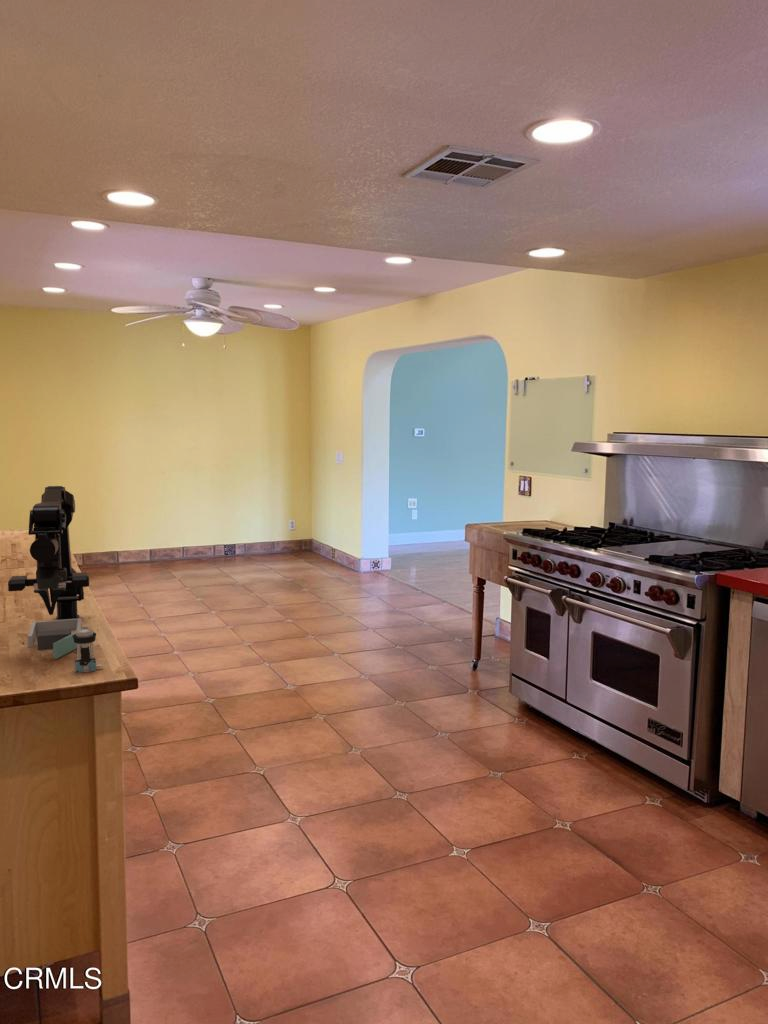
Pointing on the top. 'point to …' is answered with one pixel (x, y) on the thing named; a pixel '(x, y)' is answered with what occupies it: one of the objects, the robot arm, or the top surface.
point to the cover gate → (64, 646)
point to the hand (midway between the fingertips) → (51, 614)
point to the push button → (85, 651)
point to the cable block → (50, 638)
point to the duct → (53, 627)
